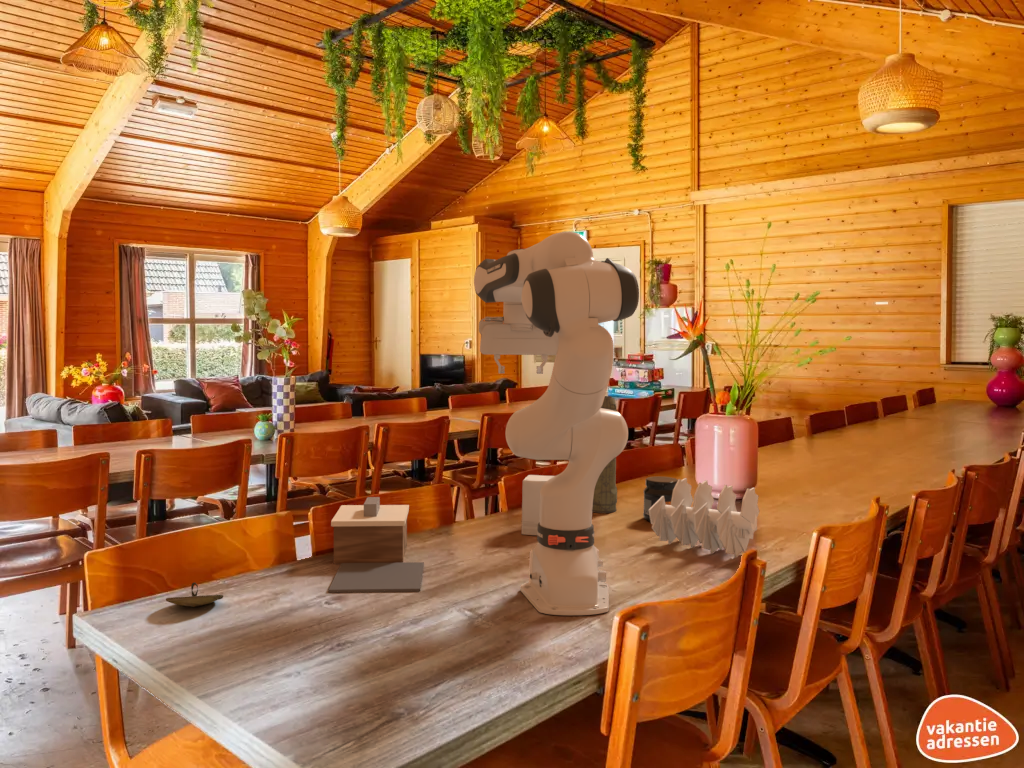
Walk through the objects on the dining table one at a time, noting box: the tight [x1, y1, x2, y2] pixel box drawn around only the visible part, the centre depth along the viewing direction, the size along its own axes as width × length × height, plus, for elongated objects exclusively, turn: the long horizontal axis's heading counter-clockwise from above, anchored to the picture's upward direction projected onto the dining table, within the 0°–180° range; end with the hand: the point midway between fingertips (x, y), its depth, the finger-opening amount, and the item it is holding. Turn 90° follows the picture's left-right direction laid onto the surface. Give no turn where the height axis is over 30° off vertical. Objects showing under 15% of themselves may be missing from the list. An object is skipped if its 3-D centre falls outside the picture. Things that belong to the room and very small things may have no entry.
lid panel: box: [330, 496, 410, 527], centre depth 194 cm, size 17×17×5 cm
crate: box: [333, 518, 408, 565], centre depth 195 cm, size 16×16×9 cm
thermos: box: [592, 395, 618, 514], centre depth 244 cm, size 9×12×35 cm
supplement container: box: [642, 476, 679, 523], centre depth 233 cm, size 10×10×12 cm
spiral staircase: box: [649, 477, 760, 559], centre depth 201 cm, size 18×18×25 cm
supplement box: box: [521, 474, 555, 536], centre depth 217 cm, size 9×9×15 cm
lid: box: [165, 582, 224, 608], centre depth 156 cm, size 11×10×5 cm
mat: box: [328, 561, 425, 594], centre depth 176 cm, size 19×19×1 cm
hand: (520, 373), depth 196 cm, fingers open, 8 cm apart
